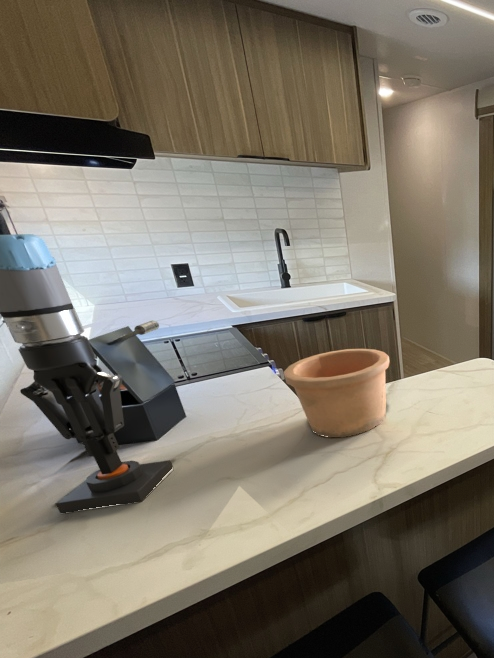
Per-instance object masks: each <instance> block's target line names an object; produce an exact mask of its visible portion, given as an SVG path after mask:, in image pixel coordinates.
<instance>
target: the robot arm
mask: <svg viewBox="0 0 494 658" xmlns="http://www.w3.org/2000/svg"><path fill="white" fill-rule="evenodd" d="M56 263H57V261H56V259H55V257H54V256H53V255H52V253H51V251H50V249H49V247H48V245H47V243H46V242H45V240H44V239H43V238H42V237H40V236H39V235H36V234H33V233H21V234H20V233H18V234H0V316H1V317H2V319H3V321H4V324H5V325H6V327H7V329H8V331H9V333H10V335H11V337H12V339H13V341H14V342H15V343H16V344H20V345H21V346H19V348H18V352H19V354H20V356H21V358H22V360H23V362H24V364H25V366H26V368H27V369H28V370H30V371H32V372H33V382H32V383H30V384H29V385H28V386H25V387H23V388H21V389H20V390H19V393H20V395H23V396H24V397H25V398H27V399H28V400H30V401H31V402H33V403H34V404H35V405H36V407H37V408H38V409H39V411H40V412H41V413H42V414H43V415H44V416H45V417H46V418H47V420H48V421H49V422H50V423H51V424H52V426H53V427H54V428H55V429H56V430H57V431H58V432H59V434H60V435H61V436H62V437H63V439H66V440H71V439H75V440H77V439H78V440H80V441H82V445H83V447H84V449H85V451H86V454H87V455H88V456H89V457H93V458H94V460H95V462H96V464H97V466H98V468H99V469H98V470H100V471H101V473H102V474H107V473H112V472H114V471H115V470H116V469H117V468H119V467H120V466H121V465H122V462H123V461H122V460H121V458H120V456H119V454H118V452H117V451H118V450H119V449H120V445H118V444H117V441H116V439H115V436H114V434H113V433H114V432H116V431H117V430H119V429H120V428H121V427H123V426H124V420H123V412H122V403H121V395H120V385H121V383H122V380H123V377H122V376H121V375H115V376H114V375H113V374H112V375H111V374H109V373H107V372H103V369H102V368H101V366H99V365H98V364H97V363H96V361H95V354H94V352H93V350H92V348H91V345H90V343H89V341H88V340H89V338H88V337H86V336H85V335H82V334H83V333H84V332H85V328H84V327H83V324H82V321H81V319H80V317H79V314H78V312H77V311H76V309H75V307H74V305H73V303H72V300H71V298H70V297H71V296H70V295H69V293H68V291H67V288H66V286H65V283H64V280H63V278H62V275H61V273H60V271H59V268H58V266H57V264H56ZM98 382H100V385H99V387H100V388H102V389H101V398H102V402H101V399H100V397H99V395H100V391H99V389H98V387H97V385H98Z"/></svg>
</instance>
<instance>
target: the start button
mask: <svg viewBox="0 0 494 658" xmlns="http://www.w3.org/2000/svg"><path fill="white" fill-rule="evenodd" d="M128 469H129V468H128V465H126V464H122V465H121V466H120V467H119V468H117V469H116V470H115V471H114V472H112V473H107V474H102V473H101V472H99V473H98V475H97V476H98V478H99V480H101V479H108V478H111V477H114V476H118V475H120V474H122V473H124V472H126V471H127V470H128Z"/></svg>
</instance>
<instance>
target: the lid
mask: <svg viewBox="0 0 494 658" xmlns="http://www.w3.org/2000/svg"><path fill="white" fill-rule="evenodd" d="M159 328H160V324H159V322H158V321H156V320H149V321H147V322H144V323H140V324H138V325H136V326H135V327H134V328H133V329H131V327H130V326H129V325H126V326H123V327H121V328H119V329H118V328H117V329H116V330H112V331H110V332H106V333H104V334H101V335H98V336H95V337H92V338H88V341H89V343H90V345H91V348H92V350H93V352H94V356H96V357H97V359H99V361H100V362H101V363H102V364H103V365H104V366H105V367H106V368H107V369H108V370H109V371H110V373H111V374H112V375H113V376H115V375H121V376H122V377H123V380H122V384H123V385H124V386H125V388H126V389H127V390H128V391H129V392H130V393H131V394H132V395H133V396H134V397H135V399H136V400H137V401H138V402H139V403H140V404H141V403H143V402H145V401H146V400H148V399H149V398H151V397H153V396H154V395H156V394H157V393H159V392H160V391H162V390H163V389H165V388H167V387H168V386H170V385H172V384H175V383H176V380H175V379H174V378H173V377H172V376H171V375H170V373H169V372H168V370H166V368H165V367H164V366H163V365H162V364H161V363H160V362H159V360H158V359H157V358H156V357H155V356H154V354H153V353H152V352H151V351H150V350H149V348H148V347H147V346H146V345H145V343H143V342H142V340H141V339H140V338H139V337H138V336H137V335H140V336H142V335H145V334H149V333H151V332H153V331H156V330H158V329H159Z"/></svg>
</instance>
